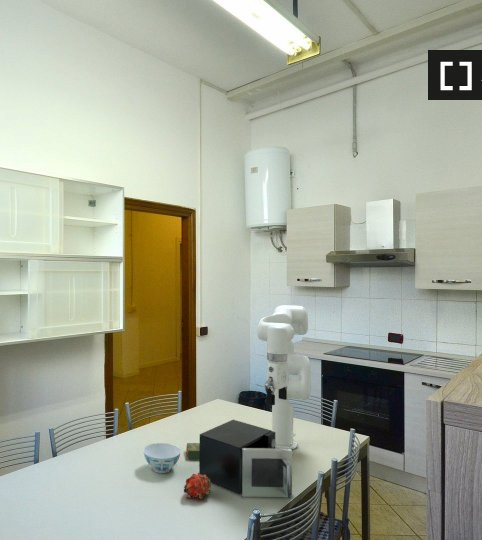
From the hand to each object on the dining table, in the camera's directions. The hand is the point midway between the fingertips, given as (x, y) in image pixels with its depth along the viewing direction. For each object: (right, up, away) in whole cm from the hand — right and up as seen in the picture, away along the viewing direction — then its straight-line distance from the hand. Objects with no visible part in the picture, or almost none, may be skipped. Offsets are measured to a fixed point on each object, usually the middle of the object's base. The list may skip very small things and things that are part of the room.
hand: (276, 401), depth 166 cm
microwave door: (-8, -30, -15) cm, 35 cm away
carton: (-25, -30, +21) cm, 44 cm away
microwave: (-14, -30, +2) cm, 33 cm away
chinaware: (-44, -30, +8) cm, 54 cm away
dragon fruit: (-33, -30, -13) cm, 46 cm away
